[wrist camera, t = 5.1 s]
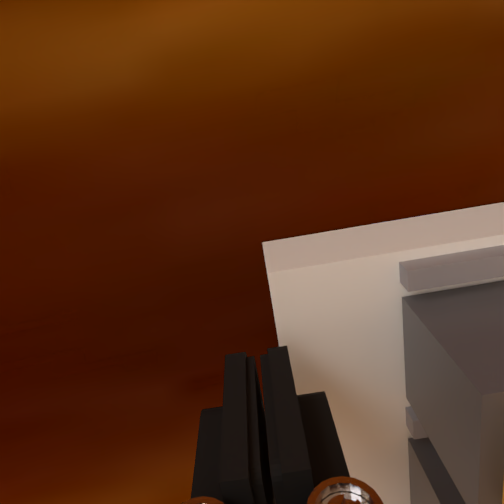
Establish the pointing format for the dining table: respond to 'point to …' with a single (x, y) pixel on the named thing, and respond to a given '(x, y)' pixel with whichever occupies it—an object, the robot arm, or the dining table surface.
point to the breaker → (429, 476)
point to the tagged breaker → (460, 382)
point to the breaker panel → (373, 321)
